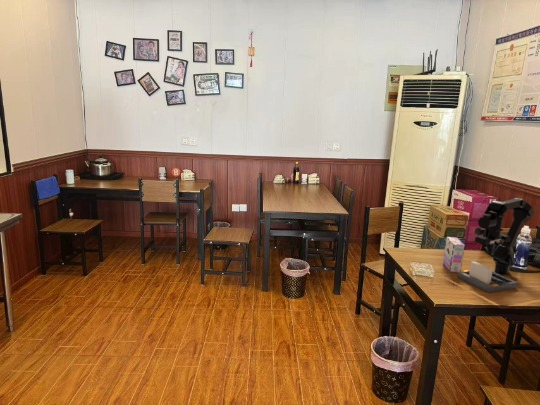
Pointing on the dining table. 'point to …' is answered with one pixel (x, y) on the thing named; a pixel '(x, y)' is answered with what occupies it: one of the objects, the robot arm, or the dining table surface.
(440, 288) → the dining table surface
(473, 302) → the dining table surface
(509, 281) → the rack
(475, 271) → the panel
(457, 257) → the candy box
